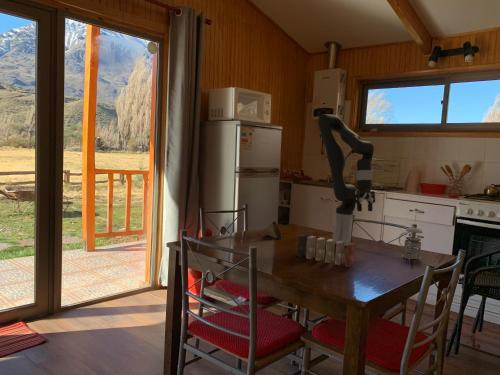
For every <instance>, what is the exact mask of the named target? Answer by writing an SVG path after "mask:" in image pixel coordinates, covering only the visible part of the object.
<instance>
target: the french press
mask: <svg viewBox="0 0 500 375" xmlns="http://www.w3.org/2000/svg"><path fill="white" fill-rule="evenodd" d="M414 212H419V209H418V208H415V209H414ZM416 217H417V215H415V217H414V218H415V219H414V221H416V220H417V219H416ZM405 231H406V232H405ZM405 231H403V232H402V233H401V234H400V235H399V237H398V242H399V245H400V246H401V247H402V248H403V250H402V254H401V255H402V258H403V257H405V258H404V259H406V258H409V259H408V260H410V259H421V258H422V257H421V250H422V242H421V241H422V239H421V238H418V237H414V236H415V234H423V230H422V229H419V228H418V227H416V224H414V226H413V227H408V228H405ZM407 232H409V233H412V235H413V236H407ZM403 235H405V236H406V237H405V240H404V245H402V244H401V237H402V236H403Z"/></svg>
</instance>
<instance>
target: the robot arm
mask: <svg viewBox="0 0 500 375" xmlns="http://www.w3.org/2000/svg"><path fill="white" fill-rule="evenodd" d="M317 124H318V129H319V132H320V134H321V138H322V140H323V145H324V147H325V151H326V156H327V162H328V165H329V169H330V174H331V179H332V186H333V187H332V188H333V193H334V196H335V199H336V200H337V201H338V202H342V203H341V204H340V205H338V206H336V209H335V220H334V225H333V227H332V236H331V239H334V240H335V245H336V243H337V242H338V241H345V247H346V246H347V244H348V243H350V242H351V239H352V230H353V229H352V227H353V218H354V216H353V215H354V211H355V209H356V210H357V212H362V211H363V207H362V206H363V203H362V202H363V201H364V200H365V201H366V202H367V211H368V212H373V208H374V207H373V204H374V203H376V192H375V190H374V191H373V190H371V189H373V174H372V160H373V155H374V151H375V148H374V144H373V143H372V142H371V141H370V140H369V141H368V140H362V139H361V137H360V135H359V134H357V133H355V131H353V130H351V128H349V127H348V126H347V125H346V124H345V123H344V122H343V121H342V119H340V117H338V116H337V115H336V114H328V113H326V114H325V113H324V114H320V115H319V116H318V121H317ZM333 131H334V132H336V133H338V134H339V136H340V139H341V140H342V141H343V142H344V143H345V144H346V145H348V147H350V149H351V151H353V153H355V154H357V155H361V156H362V157H361V159H358V160H357V162H356V186H355V185H354V184H347V183H345V180H344V176H343V174H344V169H345V167H346V166H345V165H346V156H345V152H344V149H343V148H342V146H341V145H340V143H339V142H338V141H337V139H336V138H335V137H334V135H333Z"/></svg>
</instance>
